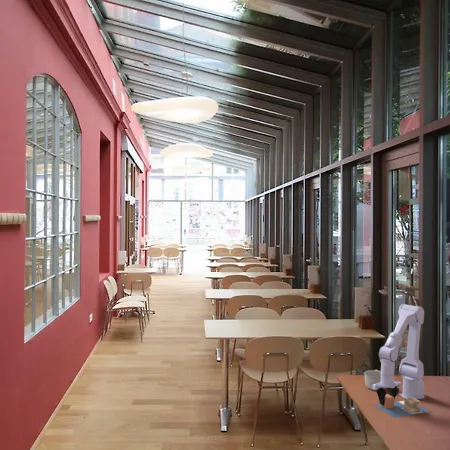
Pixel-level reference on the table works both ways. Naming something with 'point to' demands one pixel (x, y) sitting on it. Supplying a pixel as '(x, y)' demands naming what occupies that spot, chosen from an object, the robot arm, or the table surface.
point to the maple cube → (412, 405)
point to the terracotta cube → (388, 402)
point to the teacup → (372, 378)
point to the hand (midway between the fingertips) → (386, 404)
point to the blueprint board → (400, 410)
